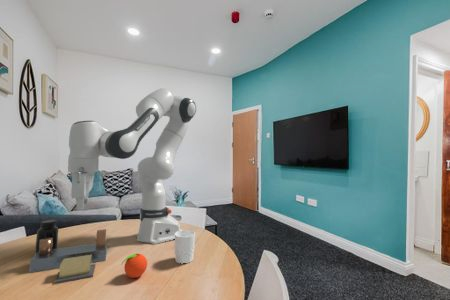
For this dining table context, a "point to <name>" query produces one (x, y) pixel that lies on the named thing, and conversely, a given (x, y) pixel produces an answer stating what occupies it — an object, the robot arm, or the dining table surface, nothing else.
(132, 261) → the clementine
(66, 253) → the body
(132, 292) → the dining table surface
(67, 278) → the mat
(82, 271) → the lever cap
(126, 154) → the robot arm
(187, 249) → the white cup
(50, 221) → the supplement bottle
